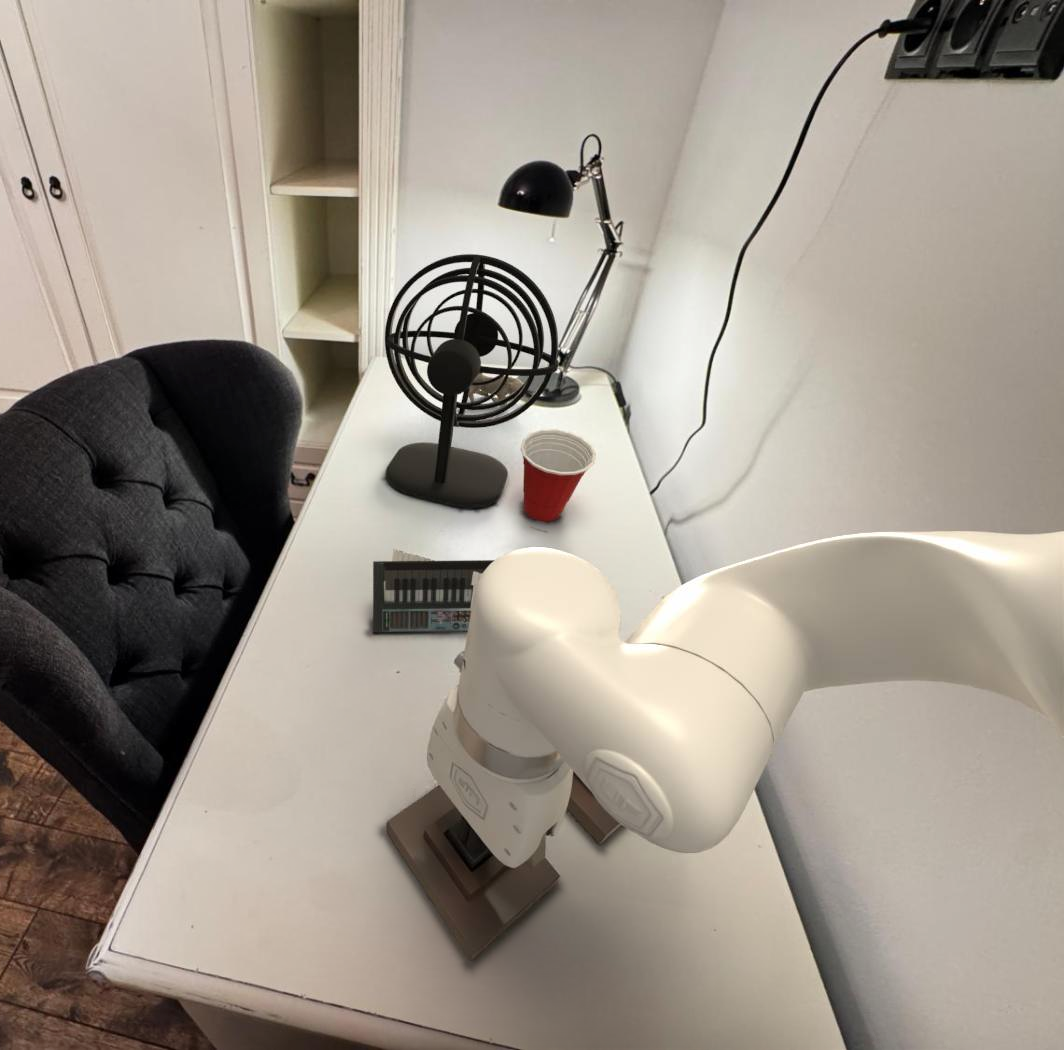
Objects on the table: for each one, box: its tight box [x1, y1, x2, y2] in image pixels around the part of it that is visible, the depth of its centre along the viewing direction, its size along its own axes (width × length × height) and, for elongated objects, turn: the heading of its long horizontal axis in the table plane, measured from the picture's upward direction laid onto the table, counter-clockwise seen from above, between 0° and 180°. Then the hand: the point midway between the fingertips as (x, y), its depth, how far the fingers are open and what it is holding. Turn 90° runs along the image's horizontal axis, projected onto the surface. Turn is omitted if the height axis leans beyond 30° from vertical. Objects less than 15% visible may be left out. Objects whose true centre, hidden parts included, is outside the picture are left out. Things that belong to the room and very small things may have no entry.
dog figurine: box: [468, 373, 527, 408], centre depth 117 cm, size 12×6×7 cm, turn 74°
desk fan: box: [384, 253, 560, 509], centre depth 88 cm, size 27×18×35 cm, turn 67°
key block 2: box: [566, 771, 622, 845], centre depth 58 cm, size 12×10×4 cm
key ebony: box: [448, 819, 492, 869], centre depth 49 cm, size 3×3×2 cm
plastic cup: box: [520, 428, 597, 522], centre depth 87 cm, size 11×11×12 cm
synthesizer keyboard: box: [372, 548, 496, 633], centre depth 71 cm, size 22×10×10 cm
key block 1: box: [385, 784, 561, 961], centre depth 51 cm, size 12×10×4 cm
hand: (478, 834), depth 49 cm, fingers closed
